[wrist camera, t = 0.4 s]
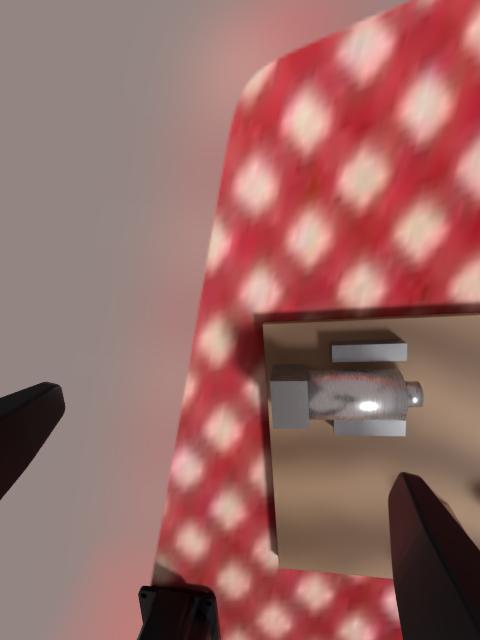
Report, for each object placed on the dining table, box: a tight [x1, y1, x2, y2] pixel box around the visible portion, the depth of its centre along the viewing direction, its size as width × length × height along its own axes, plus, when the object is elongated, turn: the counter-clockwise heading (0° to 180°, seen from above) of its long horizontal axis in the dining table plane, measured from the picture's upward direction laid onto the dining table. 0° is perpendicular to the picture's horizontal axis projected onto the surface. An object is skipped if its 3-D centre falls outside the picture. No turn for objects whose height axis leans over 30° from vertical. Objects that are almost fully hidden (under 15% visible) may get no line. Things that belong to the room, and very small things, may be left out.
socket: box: [330, 339, 407, 436], centre depth 19 cm, size 6×4×1 cm
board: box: [263, 312, 480, 579], centre depth 20 cm, size 18×18×1 cm
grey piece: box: [270, 364, 424, 429], centre depth 18 cm, size 8×3×3 cm, turn 95°
